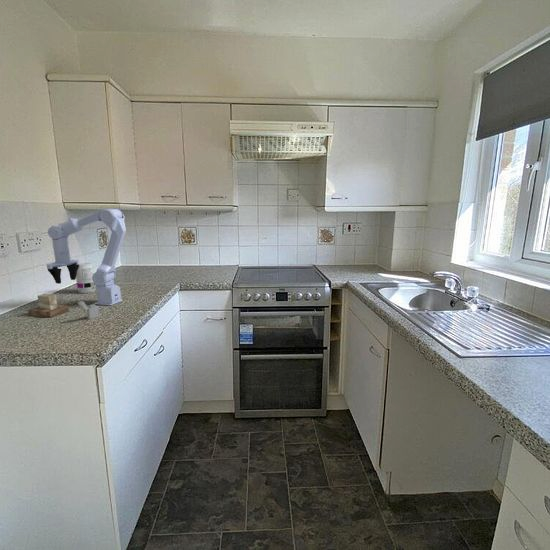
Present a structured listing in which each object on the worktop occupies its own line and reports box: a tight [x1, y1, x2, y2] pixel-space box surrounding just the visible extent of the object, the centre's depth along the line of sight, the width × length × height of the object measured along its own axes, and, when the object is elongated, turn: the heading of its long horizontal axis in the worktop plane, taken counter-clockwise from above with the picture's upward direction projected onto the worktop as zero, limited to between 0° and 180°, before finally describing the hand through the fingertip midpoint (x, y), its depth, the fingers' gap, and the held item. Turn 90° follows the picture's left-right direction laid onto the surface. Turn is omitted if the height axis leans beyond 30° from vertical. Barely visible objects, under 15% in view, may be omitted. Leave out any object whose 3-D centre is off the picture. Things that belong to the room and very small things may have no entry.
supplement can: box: [75, 262, 97, 294], centre depth 164 cm, size 8×8×15 cm
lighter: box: [77, 300, 100, 320], centre depth 124 cm, size 7×2×8 cm, turn 156°
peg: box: [37, 293, 58, 310], centre depth 130 cm, size 3×6×8 cm, turn 75°
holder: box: [28, 304, 70, 318], centre depth 131 cm, size 11×8×2 cm
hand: (66, 281), depth 143 cm, fingers open, 7 cm apart
